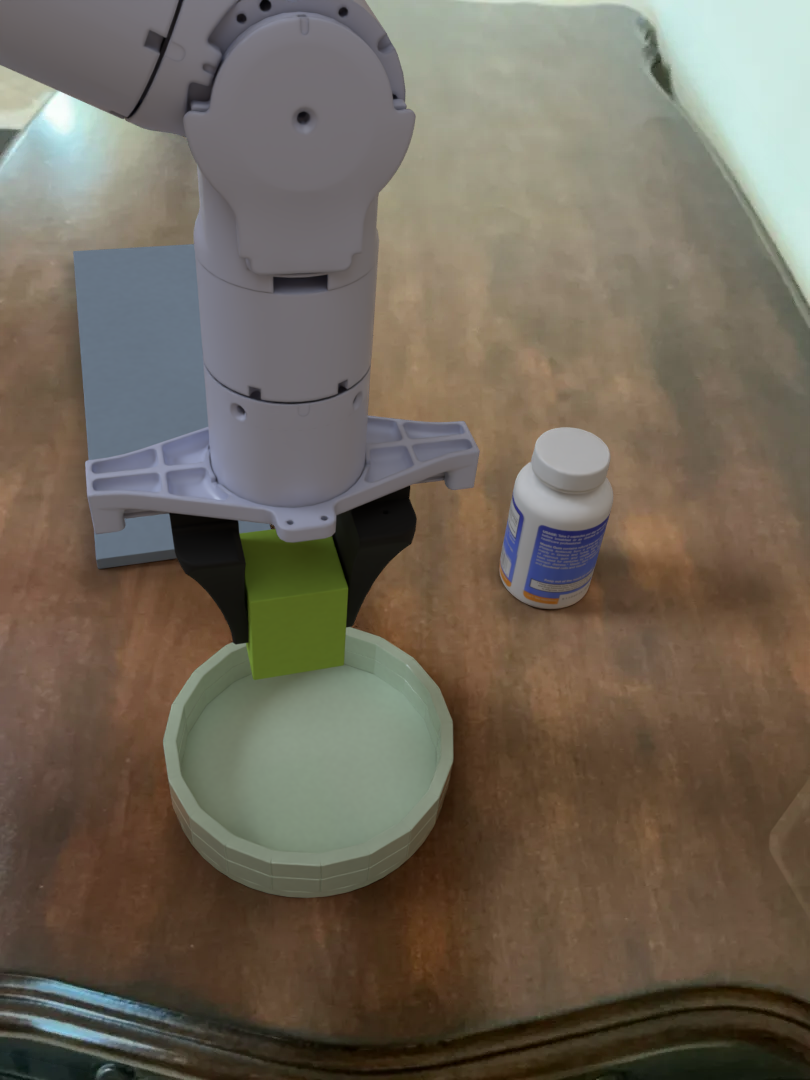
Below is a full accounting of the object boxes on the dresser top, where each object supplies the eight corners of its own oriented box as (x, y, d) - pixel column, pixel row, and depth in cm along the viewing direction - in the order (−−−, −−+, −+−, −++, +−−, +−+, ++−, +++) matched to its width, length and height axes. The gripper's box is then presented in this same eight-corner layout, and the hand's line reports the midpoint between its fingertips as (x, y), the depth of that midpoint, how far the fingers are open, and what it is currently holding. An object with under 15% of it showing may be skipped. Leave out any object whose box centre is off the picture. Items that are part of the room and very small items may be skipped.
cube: (253, 680, 42) (249, 602, 38) (239, 612, 44) (234, 533, 41) (344, 666, 43) (348, 588, 39) (325, 599, 45) (327, 521, 42)
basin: (116, 836, 44) (106, 801, 41) (246, 630, 53) (244, 592, 51) (392, 943, 41) (397, 910, 39) (479, 706, 50) (486, 670, 48)
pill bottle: (606, 580, 58) (647, 452, 51) (552, 627, 55) (587, 498, 48) (534, 533, 60) (563, 405, 53) (478, 576, 57) (502, 446, 50)
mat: (273, 545, 58) (272, 535, 57) (98, 569, 55) (96, 559, 55) (198, 252, 82) (197, 243, 81) (74, 259, 80) (73, 250, 79)
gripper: (68, 450, 29) (124, 721, 38) (526, 403, 32) (474, 662, 42) (63, 323, 33) (114, 591, 43) (462, 294, 37) (428, 548, 46)
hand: (289, 618), depth 43 cm, fingers closed on cube, 4 cm apart
